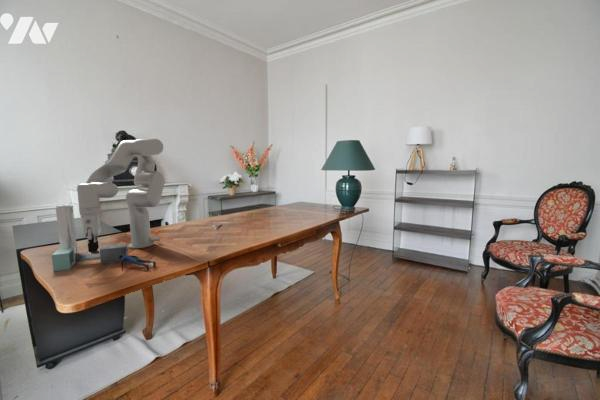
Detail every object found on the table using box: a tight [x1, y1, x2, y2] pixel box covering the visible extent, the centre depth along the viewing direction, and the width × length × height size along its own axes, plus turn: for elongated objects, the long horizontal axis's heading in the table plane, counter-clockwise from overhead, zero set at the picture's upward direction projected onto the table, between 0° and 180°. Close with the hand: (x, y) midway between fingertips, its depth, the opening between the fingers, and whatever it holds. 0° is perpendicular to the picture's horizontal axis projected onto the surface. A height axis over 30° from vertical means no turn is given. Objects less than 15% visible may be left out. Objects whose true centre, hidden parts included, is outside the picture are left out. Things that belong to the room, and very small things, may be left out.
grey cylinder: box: [55, 204, 78, 255], centre depth 139 cm, size 6×6×25 cm
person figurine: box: [119, 254, 156, 272], centre depth 123 cm, size 11×4×18 cm
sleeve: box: [99, 242, 129, 265], centre depth 131 cm, size 10×7×7 cm
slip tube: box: [75, 240, 101, 263], centre depth 128 cm, size 17×4×10 cm, turn 117°
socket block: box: [51, 248, 76, 272], centre depth 123 cm, size 6×9×7 cm, turn 27°
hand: (93, 249), depth 127 cm, fingers closed on slip tube, 2 cm apart
